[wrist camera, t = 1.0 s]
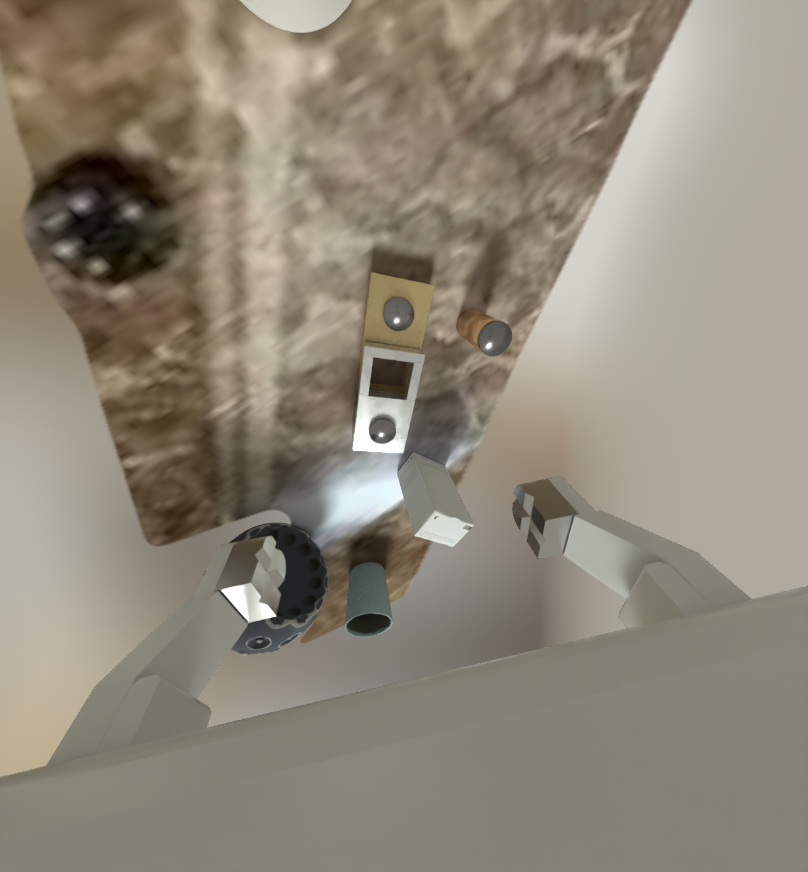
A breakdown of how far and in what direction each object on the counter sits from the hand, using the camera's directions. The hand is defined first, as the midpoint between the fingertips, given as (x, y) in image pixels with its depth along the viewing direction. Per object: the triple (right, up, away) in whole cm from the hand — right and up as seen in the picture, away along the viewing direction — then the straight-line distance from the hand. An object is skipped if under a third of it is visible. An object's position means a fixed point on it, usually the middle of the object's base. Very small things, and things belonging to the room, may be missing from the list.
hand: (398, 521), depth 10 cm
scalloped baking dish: (-25, -17, +49) cm, 58 cm away
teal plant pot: (-9, -31, +61) cm, 68 cm away
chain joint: (-2, +13, +33) cm, 36 cm away
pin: (+10, +19, +32) cm, 38 cm away
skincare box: (+4, -3, +45) cm, 46 cm away
